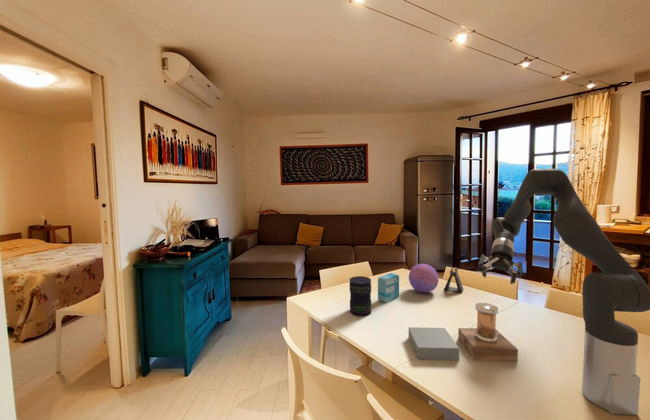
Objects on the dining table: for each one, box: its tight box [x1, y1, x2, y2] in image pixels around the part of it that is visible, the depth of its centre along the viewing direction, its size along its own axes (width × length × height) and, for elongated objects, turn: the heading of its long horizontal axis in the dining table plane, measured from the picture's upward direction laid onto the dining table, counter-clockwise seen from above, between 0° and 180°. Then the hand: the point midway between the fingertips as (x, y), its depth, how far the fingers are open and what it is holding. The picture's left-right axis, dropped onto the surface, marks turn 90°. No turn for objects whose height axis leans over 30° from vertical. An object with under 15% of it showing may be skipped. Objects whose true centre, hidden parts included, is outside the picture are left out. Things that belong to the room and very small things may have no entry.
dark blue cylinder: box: [349, 275, 372, 318], centre depth 124 cm, size 10×10×15 cm
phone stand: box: [443, 266, 464, 294], centre depth 148 cm, size 9×6×12 cm, turn 57°
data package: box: [377, 272, 400, 304], centre depth 138 cm, size 12×4×12 cm, turn 131°
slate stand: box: [408, 326, 460, 361], centre depth 95 cm, size 13×13×4 cm
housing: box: [475, 302, 499, 343], centre depth 93 cm, size 7×7×11 cm
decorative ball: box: [408, 263, 439, 294], centre depth 146 cm, size 15×15×15 cm
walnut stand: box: [457, 327, 519, 362], centre depth 93 cm, size 13×13×4 cm
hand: (498, 279), depth 101 cm, fingers open, 8 cm apart
